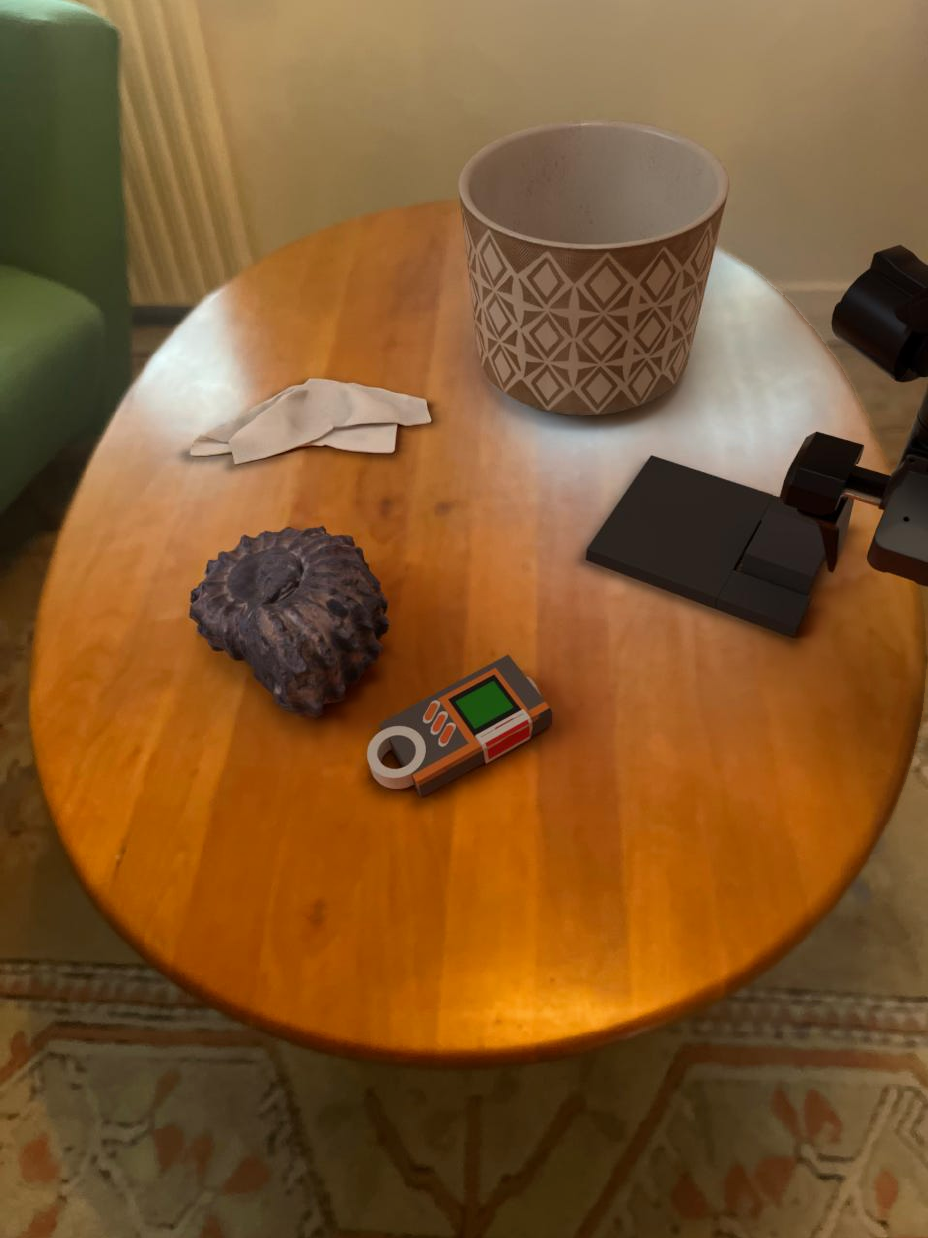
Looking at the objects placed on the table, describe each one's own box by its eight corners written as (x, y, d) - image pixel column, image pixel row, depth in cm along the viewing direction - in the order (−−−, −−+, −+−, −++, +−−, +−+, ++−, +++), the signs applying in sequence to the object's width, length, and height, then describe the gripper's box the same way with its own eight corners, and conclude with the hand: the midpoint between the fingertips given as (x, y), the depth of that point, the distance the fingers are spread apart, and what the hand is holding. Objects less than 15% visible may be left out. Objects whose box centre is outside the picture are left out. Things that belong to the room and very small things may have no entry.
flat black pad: (844, 530, 91) (848, 519, 90) (793, 638, 83) (797, 627, 82) (649, 465, 98) (651, 454, 97) (585, 559, 90) (586, 548, 89)
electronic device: (352, 735, 76) (511, 649, 79) (358, 753, 78) (513, 669, 82) (391, 799, 72) (556, 706, 76) (396, 817, 74) (557, 726, 78)
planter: (451, 432, 103) (437, 241, 86) (485, 299, 119) (479, 116, 102) (696, 449, 99) (732, 252, 82) (697, 309, 116) (727, 121, 99)
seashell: (331, 769, 78) (449, 632, 77) (208, 705, 70) (338, 552, 69) (265, 650, 93) (363, 535, 92) (157, 587, 85) (263, 459, 84)
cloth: (431, 376, 109) (429, 359, 108) (431, 455, 101) (429, 438, 99) (206, 388, 110) (201, 371, 108) (187, 467, 101) (181, 451, 99)
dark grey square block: (825, 558, 89) (835, 532, 86) (804, 603, 85) (813, 576, 83) (760, 536, 91) (768, 509, 88) (737, 578, 88) (744, 552, 85)
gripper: (776, 450, 58) (734, 617, 70) (1115, 551, 51) (1006, 717, 63) (831, 355, 64) (784, 524, 76) (1141, 434, 57) (1037, 606, 69)
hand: (894, 589), depth 71 cm, fingers open, 9 cm apart
